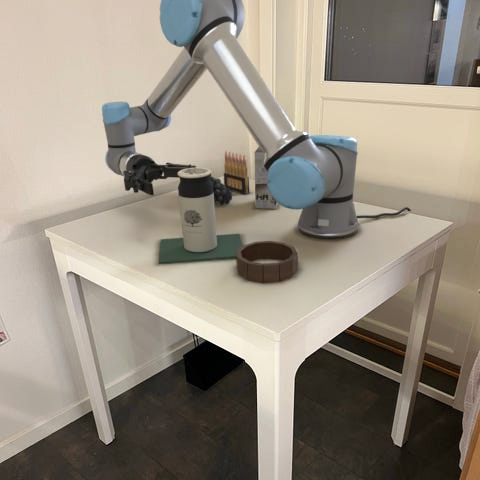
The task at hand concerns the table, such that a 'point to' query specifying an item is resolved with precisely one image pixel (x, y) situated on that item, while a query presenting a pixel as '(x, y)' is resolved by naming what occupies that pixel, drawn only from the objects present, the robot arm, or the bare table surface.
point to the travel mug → (197, 209)
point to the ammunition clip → (236, 173)
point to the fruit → (220, 191)
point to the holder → (266, 270)
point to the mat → (177, 253)
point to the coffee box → (262, 184)
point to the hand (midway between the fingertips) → (177, 183)
